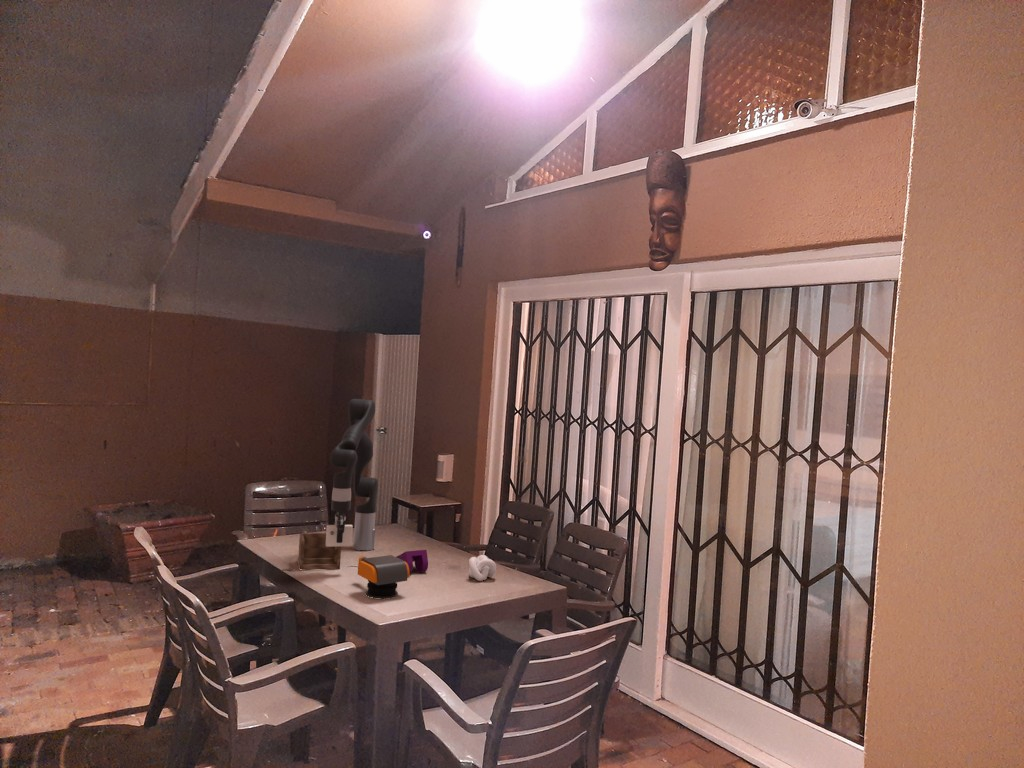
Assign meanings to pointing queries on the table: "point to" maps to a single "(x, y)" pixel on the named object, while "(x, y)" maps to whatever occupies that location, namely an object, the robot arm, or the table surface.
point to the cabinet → (317, 552)
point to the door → (332, 536)
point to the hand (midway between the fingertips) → (338, 541)
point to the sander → (383, 575)
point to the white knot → (481, 567)
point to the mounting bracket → (415, 560)
